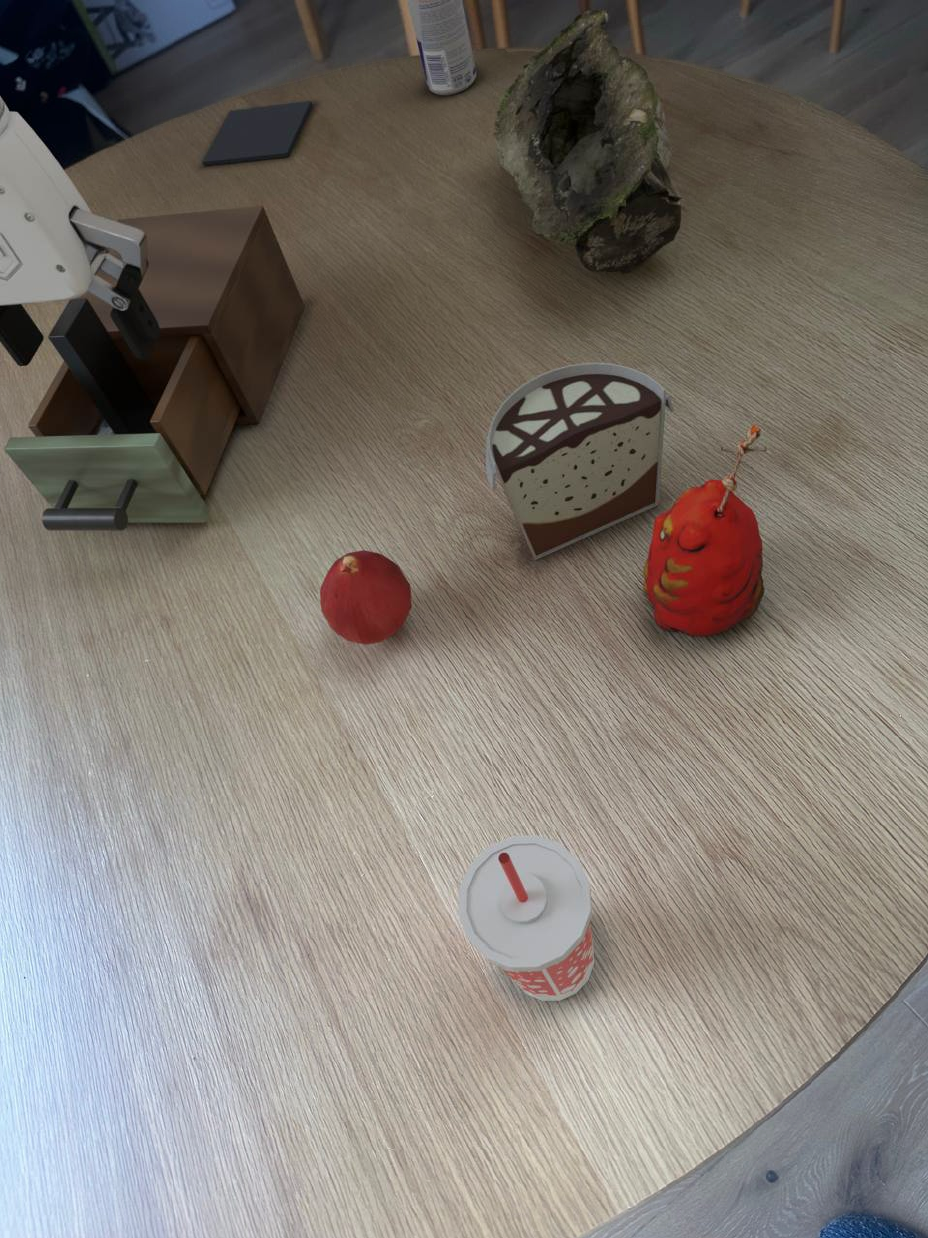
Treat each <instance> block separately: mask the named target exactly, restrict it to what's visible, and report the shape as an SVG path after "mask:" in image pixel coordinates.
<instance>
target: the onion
mask: <svg viewBox="0 0 928 1238" xmlns="http://www.w3.org/2000/svg"><path fill="white" fill-rule="evenodd" d="M325 574H326V575H325V577H324V579H323V581H322V583H321V585H320V589H319V601H320V610H321V613H322V615H323V617H324V618H325V620H326V623H328V625H329V627H330V628H331V630H333V632H334V633H335V634H336V635H337V636H340V637H341V638H343V639H344V640H346V641H347V642H351V643H354V644H361V645H372V644H373V645H374V644H378V643H381V642H384V641H385V640H387V639H389V638H390V637H392V636H393V635H395V634H396V633H397V632H398V631H399V630H400V629H401V628H402V627H403V626H404V624H405V622H406V620H407V618H408V616H409V613H410V612H411V609H412V589H411V584H410V582H409V580H408V578H407V577H406V575H405V574H404V572H403V571H402V569H401V568H400V566H399V565H398V564H397V563H396V562H395V561H393V560H391V558H389V557H387V556H385V555H384V554H382V553H379V552H375V551H369V550H358V551H352V552H348V553H346V554H344V555H342V556H341V557H339V558H338V559H336V560H335V561H334V562H333V563H332V565H331V567H330V568H329V569H328V570H327V572H326V573H325Z"/></svg>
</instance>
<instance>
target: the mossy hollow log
mask: <svg viewBox="0 0 928 1238" xmlns="http://www.w3.org/2000/svg"><path fill="white" fill-rule="evenodd" d="M609 18H610V15H609V13H607V11H606V10H605V9H602V8H598V9H596V10H594V9H590V10H586V11H584V12H583V13H580V14H578V15H577V16H576V17H574V19H573V21H572V22H571V23H570V24H569V25H568V26H567V27H566V28H564V29H561V30H560V31H559V33H558V35H556V36H555V37H554V38H553V39H552V40H551V41H550V42H549V44H548V45H547V46H546V47H545V48H543V49H542V50H541V51H540V52H539V53H538V54H535V55H532V56H531V57H530V58H529V59H528V60H527V62H526V63H524V64H523V66H522V67H521V68H522V69H521V73H519V74H518V75H516V77H515V78H514V80H513V83H512V84H511V85H510V86H509V87H508V88H507V90H505V92H504V95H503V98H502V101H501V103H500V105H499V106H498V108H497V111H496V114H495V118H494V122H493V127H494V130H493V133H492V134H493V138H494V141H495V143H496V145H497V155H498V156H499V162H498V164H499V167H500V168H501V169H502V170H503V169H504V170H505V171H506V172H507V173H508V174H509V175H510V176H512V177H513V178H514V180H515V183H516V187H517V189H518V191H519V192H520V195H521V200H522V201H523V202H524V203H525V205H526V206H528V207H529V208H530V210H531V211H532V212H533V214H534V215H533V218H532V222H531V226H532V229H533V230H534V232H535V233H536V234H537V235H539V236H545V238H547V239H549V240H550V241H551V242H554V243H557V244H568V243H569V244H571V245H573V246H574V247H575V250H576V253H577V256H578V259H579V262H580V264H581V263H582V266H583V268H584V269H586V270H588V271H589V272H593V273H620V274H621V275H623V274H629V273H630V272H633V271H635V270H637V269H638V268H640V267H641V266H642V265H644V263H645V262H647V261H648V260H649V259H650V258H652V257H653V256H654V255H655V254H656V253H658V252H659V251H660V250H661V249H662V248H664V247H665V246H666V245H668V244H669V243H671V242H673V241H675V238H676V235H677V234H678V232H679V231H680V229H681V223H682V204H681V202H680V201H681V200H682V199H683V196H682V194H681V193H680V190H679V189H678V187H677V186H676V184H675V182H674V180H673V179H672V177H671V175H670V162H671V159H672V156H673V153H674V146H673V143H672V141H671V138H670V135H669V134H668V132H667V129H666V127H665V117H666V115H665V112H664V110H663V106H662V103H661V101H660V99H659V94H658V92H657V91H656V89H655V86H654V84H653V83H652V82H651V81H650V79H649V75H648V72H647V71H646V69H645V68H644V67H642V66H641V65H640V64H639V63H637V62H635V61H634V60H633V59H632V58H631V57H628V56H622V52H621V51H620V50H619V48H617V47H616V46H615V45H614V40H613V38H612V36H611V35H610V33H609V32H608V31H607V30H604V29H602V28H601V26H603V25H605V24H607V23H609Z"/></svg>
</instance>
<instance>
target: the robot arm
mask: <svg viewBox="0 0 928 1238" xmlns="http://www.w3.org/2000/svg"><path fill="white" fill-rule="evenodd" d="M9 109H10V108H8V106H7V104H6V102H5V101H4V100H3V98H2V97H1V95H0V344H1V345H2V347H3V348H4V349H5V351H7V353H8V354H9V355H10V357H11V358H12V360H13V361H14V362H15V363H16V364H17V366H18V367H26V366H29V364H30V363H31V362H32V360H33V359H34V357H35V355H36V353H37V352H38V350H39V348H40V346H41V345H42V344H43V341H44V339H45V336H44V335H43V332H42V331H41V330H40V328H39V327H38V326H37V324H36V322H35V321H34V319H32V317H31V316H30V314H29V313H28V312H27V310H26V309H25V307H24V306H23V305H28V304H39V303H40V304H41V303H51V302H62V301H69V300H70V299H75V298H79V297H81V296H83V295H84V294H85V293H86V292H87V291H88V292H90V293H91V294H93V295H94V296H96V297H98V298H99V299H101V300H103V301H104V302H106V303H107V304H109V305H111V306H112V307H113V309H112V311H111V313H110V316H111V318H112V320H113V322H114V323H115V325H116V326H117V328H118V330H119V331H120V333H121V335H122V336H123V338H124V339H125V341H126V343H127V344H128V346H129V347H130V349H131V351H132V352H133V354H134V355H135V357H137V358H138V359H146V358H147V357H148V356H149V354H150V352H151V350H152V348H153V346H154V344H155V342H156V340H157V338H158V336H159V334H160V327H159V324H158V322H157V320H156V318H155V316H154V315H153V313H152V311H151V309H150V308H149V306H148V304H147V302H146V301H145V299H144V297H143V296H142V294H141V292H140V290H139V287H140V285H141V283H142V279H143V277H144V275H145V272H146V270H147V268H148V265H149V263H148V260H147V237H146V234H145V233H144V232H143V231H142V230H140V229H138V228H135V227H131V226H128V225H125V224H122V223H119V222H117V221H116V220H113V219H110V218H106V217H103V216H100V215H97V214H94V213H93V212H92V210H91V209H90V208H89V206H88V204H87V203H86V201H85V199H84V198H83V196H82V195H81V193H80V191H79V190H78V188H77V187H76V186H75V184H74V182H73V180H71V178H70V176H69V175H68V174H67V172H66V171H65V170H64V168H63V167H62V166H61V163H60V162H59V161H58V160H57V159H56V158H55V156H54V155H53V153H52V152H51V151H50V149H49V148H48V146H46V144H45V143H44V141H42V139H41V137H39V136H38V134H37V133H36V132H35V130H34V129H33V128H32V127H31V126H30V125H29V124H28V122H27V121H26V120H25V119H24V118H23V117H22V115H20V113H19V112H18V111H10V110H9ZM109 249H112V250H114V251H116V252H118V253H119V254H120V256H121V258H122V262H121V261H120V260H118V259H117V258H115V257H114V256H112V255H111V254H109V251H110V250H109ZM99 269H100V270H102V271H103V272H105V273H106V274H108V275H110V276H111V277H113V278H114V279H116V280H117V281H118V282H117V284H116V287H115V286H113V285H111V284H110V283H108V282H107V281H105V280H103V279H102V278H100V277H99V276H97V275H96V274H97V272H98V270H99Z"/></svg>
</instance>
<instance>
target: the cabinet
mask: <svg viewBox="0 0 928 1238" xmlns="http://www.w3.org/2000/svg"><path fill="white" fill-rule="evenodd" d="M116 222H119V223H122V224H125V225H128V226H131V227H135V228H138V229H140V230H142V231H143V232H144V233H145V234H146V237H147V260H148V263H149V265H148V268H147V270H146V272H145V275H144V277H143V279H142V283H141V285H140V287H139V290H140V292H141V294H142V296H143V297H144V299H145V301H146V302H147V304H148V306H149V308H150V309H151V311H152V313H153V315H154V316H155V318H156V320H157V322H158V324H159V327H160V334H159V336H175V335H192V334H203V336H204V337H205V339H206V341H207V343H208V345H209V347H210V349H211V351H212V352H213V354H214V356H215V358H216V360H217V362H218V364H219V366H220V368H221V369H222V371H223V373H224V375H225V377H226V379H227V381H228V383H229V384H230V386H231V388H232V390H233V392H234V394H235V396H236V398H237V399H238V401H239V403H240V405H241V409H240V411H239V414H238V416H237V419H236V421H235V423H234V425H250V424H256V425H257V424H260V422H261V419H262V416H263V414H264V411H265V409H266V406H267V405H268V401H269V399H270V396H271V393H272V391H273V388H274V385H275V383H276V381H277V378H278V376H279V374H280V371H281V369H282V365H283V363H284V361H285V358H286V355H287V353H288V350H289V348H290V345H291V343H292V340H293V337H294V335H295V333H296V329H297V327H298V324H299V322H300V319H301V317H302V314H303V311H304V309H305V303H304V301H303V299H302V296H301V294H300V291H299V288H298V287H297V284H296V282H295V280H294V277H293V275H292V272H291V269H290V268H289V265H288V262H287V260H286V258H285V256H284V253H283V250H282V248H281V245H280V243H279V241H278V238H277V236H276V233H275V231H274V229H273V226H272V224H271V222H270V219H269V216H268V215H267V212H266V209H265V207H264V206H263V205H258V206H257V205H255V206H245V207H235V208H225V209H224V208H223V209H214V210H205V211H204V210H203V211H194V212H184V213H183V212H182V213H173V214H164V215H163V214H162V215H161V214H160V215H151V216H141V217H130V218H121V219H119V218H118V219H117V221H116ZM109 250H110V251H109V254H111V255H112V256H114V257H115V258H117V259H118V260H120V261H121V262H122V258H121V256H120V254H119V253H118V252H116V251H114V250H112V249H109ZM96 275H97V276H99V277H100V278H102V279H103V280H105V281H107V282H108V283H110V284H111V285H113V286H115V287H116V284H117V282H118V281H117V280H116V279H114V278H113V277H111V276H110V275H108V274H106V273H105V272H103V271H102V270H100V269H99V270H98V272H97V274H96ZM79 298H87V299H88V301H89V302H90V304H91V306H92V307H93V309H94V310H95V312H96V314H97V315H98V317H99V318H100V320H101V322H102V323H103V325H104V326H105V328H106V330H107V331H108V333H109V334H110V336H111V337H112V339H123V336H122V335H121V333H120V331H119V330H118V328H117V326H116V325H115V323H114V322H113V320H112V318H111V316H110V313H111V311H112V309H113V307H112V306H111V305H109V304H107V303H106V302H104V301H103V300H101V299H99V298H98V297H96V296H94V295H93V294H91V293H90V292H88V291H87V292H86V293H85V294H84V295H83V296H81V297H79ZM75 299H77V298H75Z"/></svg>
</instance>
